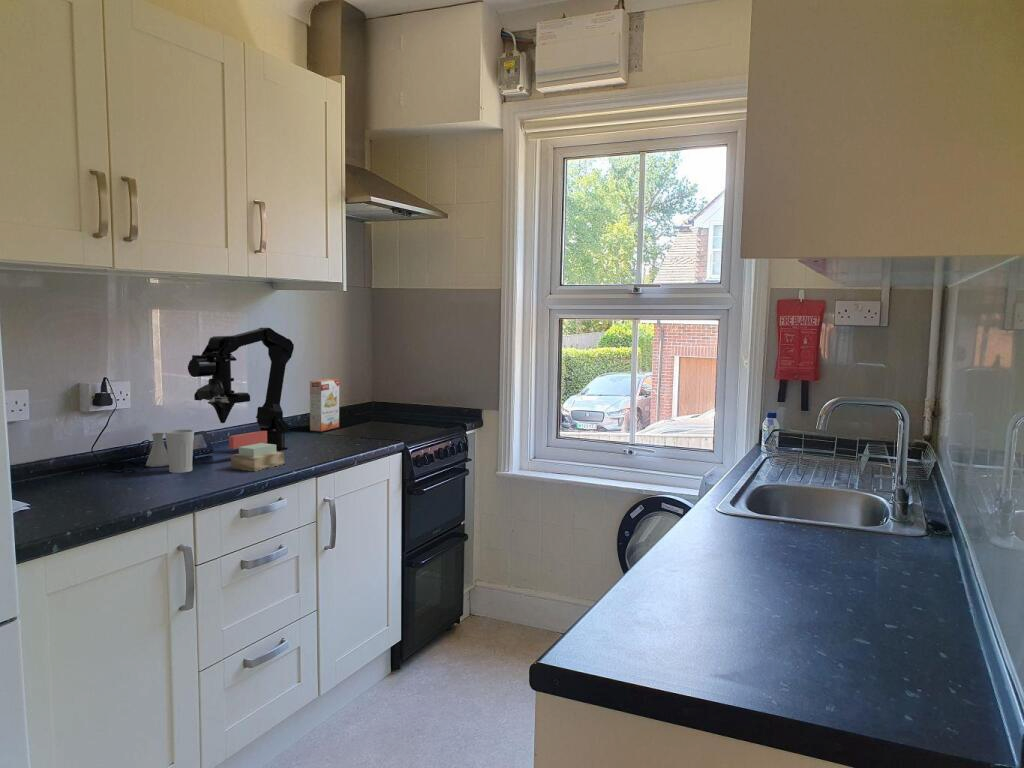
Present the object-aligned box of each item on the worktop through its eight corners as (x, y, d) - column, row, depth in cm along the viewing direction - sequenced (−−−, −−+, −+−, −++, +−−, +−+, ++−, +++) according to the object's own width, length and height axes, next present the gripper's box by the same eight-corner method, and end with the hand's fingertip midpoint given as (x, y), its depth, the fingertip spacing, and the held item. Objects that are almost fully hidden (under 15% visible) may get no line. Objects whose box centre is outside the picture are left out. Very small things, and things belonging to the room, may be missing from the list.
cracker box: (322, 432, 290) (321, 381, 288) (309, 431, 291) (308, 380, 290) (340, 427, 303) (339, 379, 301) (328, 426, 305) (327, 378, 303)
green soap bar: (261, 450, 225) (261, 442, 225) (276, 452, 222) (276, 444, 222) (238, 455, 217) (238, 447, 217) (253, 457, 214) (253, 449, 214)
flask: (176, 463, 224) (175, 432, 223) (163, 467, 217) (162, 435, 216) (154, 462, 224) (153, 431, 224) (140, 467, 217) (139, 435, 216)
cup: (199, 470, 213) (198, 431, 212) (172, 474, 207) (170, 434, 206) (189, 466, 218) (188, 428, 217) (162, 470, 213) (160, 431, 212)
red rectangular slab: (263, 451, 239) (262, 430, 239) (267, 452, 238) (267, 431, 238) (229, 458, 227) (228, 436, 226) (233, 459, 226) (233, 436, 226)
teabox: (261, 461, 227) (261, 449, 227) (284, 464, 223) (284, 452, 222) (230, 468, 217) (230, 455, 216) (254, 471, 212) (254, 458, 212)
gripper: (179, 375, 224) (181, 424, 226) (224, 378, 217) (225, 428, 219) (207, 373, 235) (208, 420, 236) (250, 375, 227) (251, 423, 229)
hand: (222, 422), depth 230 cm, fingers closed
